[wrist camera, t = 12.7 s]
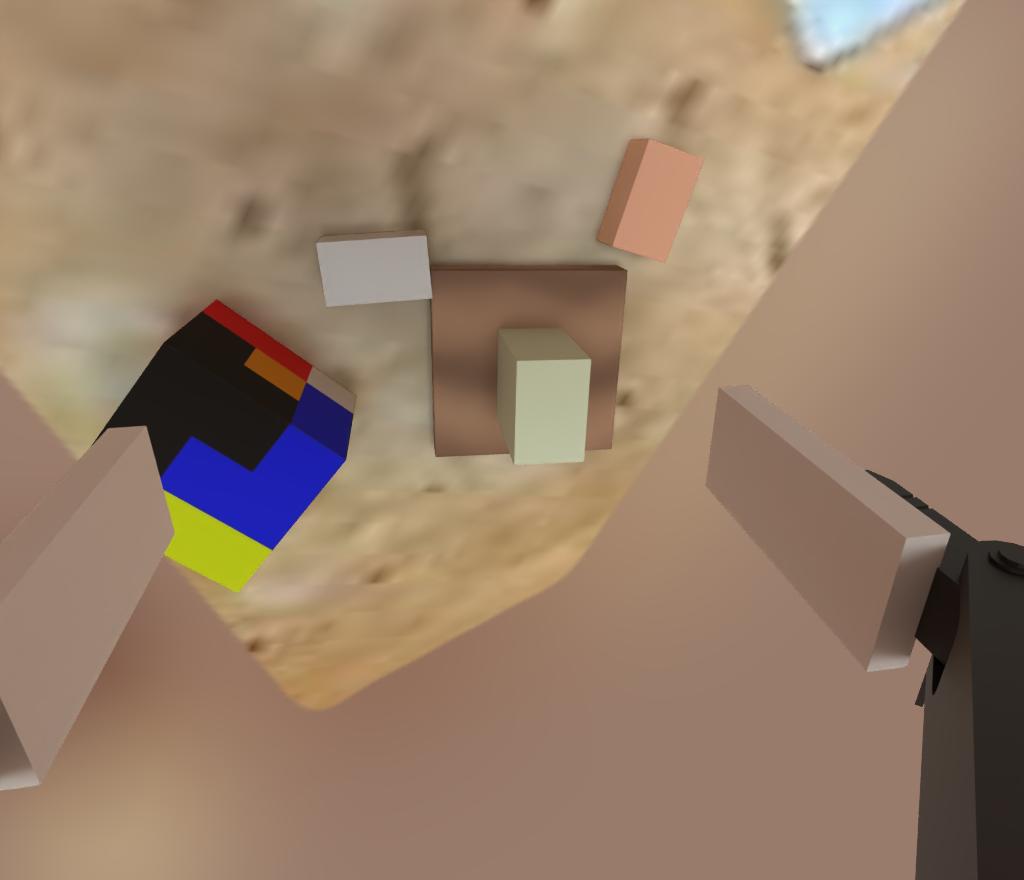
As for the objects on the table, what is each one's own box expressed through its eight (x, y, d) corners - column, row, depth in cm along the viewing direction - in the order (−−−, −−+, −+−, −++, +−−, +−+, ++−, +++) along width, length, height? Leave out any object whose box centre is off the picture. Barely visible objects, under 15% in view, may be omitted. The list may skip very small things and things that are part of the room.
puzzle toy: (356, 395, 43) (345, 459, 34) (269, 505, 45) (237, 592, 36) (216, 299, 40) (164, 342, 31) (128, 423, 42) (54, 498, 33)
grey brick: (331, 295, 41) (326, 307, 38) (322, 235, 39) (315, 243, 36) (429, 287, 41) (432, 298, 38) (423, 228, 40) (426, 235, 37)
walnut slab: (429, 265, 41) (431, 270, 39) (617, 265, 43) (627, 270, 41) (434, 444, 45) (435, 457, 44) (603, 437, 47) (611, 449, 45)
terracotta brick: (629, 140, 40) (649, 138, 37) (680, 158, 41) (704, 159, 38) (595, 239, 42) (612, 246, 39) (645, 255, 43) (665, 263, 40)
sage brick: (498, 328, 41) (516, 361, 35) (561, 327, 42) (591, 359, 35) (496, 419, 43) (514, 464, 37) (556, 417, 44) (584, 461, 38)
